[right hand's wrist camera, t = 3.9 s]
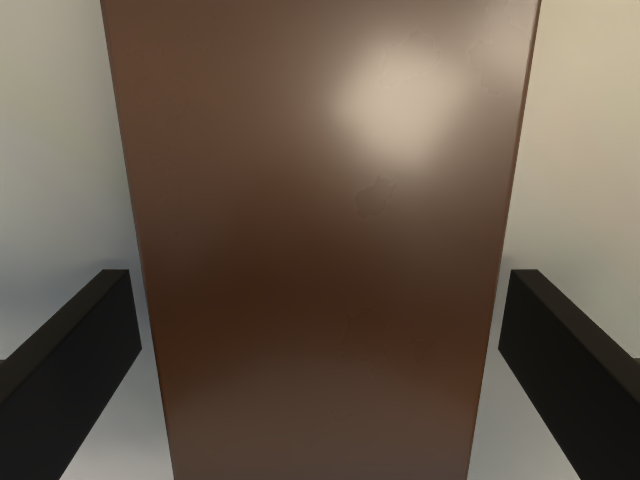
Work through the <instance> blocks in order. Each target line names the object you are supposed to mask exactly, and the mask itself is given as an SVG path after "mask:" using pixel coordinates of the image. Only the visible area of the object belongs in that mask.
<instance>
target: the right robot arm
mask: <svg viewBox="0 0 640 480" xmlns="http://www.w3.org/2000/svg"><path fill="white" fill-rule="evenodd" d="M141 350H142V346H141V340H140V334H139V328H138V322H137V316H136V310H135V304H134V298H133V292H132V286H131V280H130V274H129V270H102V271H101V272H100V273H98V274H97V275H96V276H95V277H94V278H93V279H92V280H91V281H90V282H89V283H88V284H87V285H86V286H84V287H83V288H82V289H81V290H80V291H79V292H78V293H77V294H76V295H75V296H74V297H73V298H72V299H70V300H69V301H68V302H67V303H66V304H65V305H64V306H63V307H62V308H61V309H60V310H59V311H58V312H56V313H55V314H54V315H53V316H52V317H51V318H50V319H49V320H48V321H47V322H46V323H45V324H44V325H42V326H41V327H40V328H39V329H38V330H37V331H36V332H35V333H34V334H33V335H32V336H31V337H30V338H28V339H27V340H26V341H25V342H24V343H23V344H22V345H21V346H20V347H19V348H18V349H17V350H16V351H14V352H13V353H12V354H11V355H10V356H9V357H8V358H7V359H6V360H0V480H59V479H60V478H61V476H62V474H63V473H64V471H65V470H66V468H67V466H68V465H69V463H70V462H71V460H72V459H73V457H74V455H75V454H76V452H77V451H78V449H79V448H80V446H81V444H82V443H83V441H84V440H85V438H86V436H87V435H88V433H89V432H90V430H91V429H92V427H93V425H94V424H95V422H96V421H97V419H98V418H99V416H100V414H101V413H102V411H103V410H104V408H105V407H106V405H107V403H108V402H109V400H110V399H111V397H112V395H113V394H114V392H115V391H116V389H117V388H118V386H119V384H120V383H121V381H122V380H123V378H124V377H125V375H126V373H127V372H128V370H129V369H130V367H131V365H132V364H133V362H134V361H135V359H136V358H137V356H138V354H139V353H140V351H141ZM498 350H499V351H500V353H501V354H502V356H503V358H504V359H505V361H506V362H507V364H508V365H509V367H510V369H511V370H512V372H513V373H514V375H515V377H516V378H517V380H518V381H519V383H520V384H521V386H522V388H523V389H524V391H525V392H526V394H527V395H528V397H529V399H530V400H531V402H532V403H533V405H534V407H535V408H536V410H537V411H538V413H539V414H540V416H541V418H542V419H543V421H544V422H545V424H546V425H547V427H548V429H549V430H550V432H551V433H552V435H553V437H554V438H555V440H556V441H557V443H558V444H559V446H560V448H561V449H562V451H563V452H564V454H565V455H566V457H567V459H568V460H569V462H570V463H571V465H572V466H573V468H574V470H575V471H576V473H577V474H578V476H579V478H580V479H581V480H640V358H632V357H631V356H630V355H629V354H628V353H627V352H626V351H624V350H623V349H622V348H621V347H620V346H619V345H618V344H617V343H616V342H615V341H614V340H613V339H612V338H610V337H609V336H608V335H607V334H606V333H605V332H604V331H603V330H602V329H601V328H600V327H599V326H598V325H596V324H595V323H594V322H593V321H592V320H591V319H590V318H589V317H588V316H587V315H586V314H585V313H584V312H582V311H581V310H580V309H579V308H578V307H577V306H576V305H575V304H574V303H573V302H572V301H571V300H570V299H568V298H567V297H566V296H565V295H564V294H563V293H562V292H561V291H560V290H559V289H558V288H557V287H556V286H554V285H553V284H552V283H551V282H550V281H549V280H548V279H547V278H546V277H545V276H544V275H543V274H542V273H540V272H539V271H538V270H511V274H510V280H509V286H508V292H507V298H506V304H505V310H504V316H503V322H502V328H501V334H500V340H499V346H498Z"/></svg>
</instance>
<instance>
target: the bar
mask: <svg viewBox="0 0 640 480" xmlns="http://www.w3.org/2000/svg"><path fill="white" fill-rule="evenodd" d="M100 4H101V10H102V16H103V23H104V29H105V36H106V42H107V49H108V55H109V62H110V68H111V75H112V81H113V87H114V94H115V100H116V107H117V113H118V120H119V126H120V133H121V139H122V146H123V152H124V159H125V165H126V171H127V178H128V184H129V191H130V197H131V204H132V210H133V217H134V223H135V230H136V236H137V242H138V249H139V255H140V262H141V268H142V275H143V281H144V288H145V294H146V301H147V307H148V314H149V320H150V326H151V333H152V339H153V346H154V352H155V359H156V365H157V372H158V378H159V385H160V391H161V398H162V404H163V410H164V417H165V423H166V430H167V436H168V443H169V449H170V456H171V462H172V469H173V475H174V480H467V475H468V469H469V462H470V456H471V449H472V443H473V436H474V430H475V424H476V417H477V411H478V404H479V398H480V392H481V385H482V379H483V372H484V366H485V359H486V353H487V347H488V340H489V334H490V327H491V321H492V315H493V308H494V302H495V295H496V289H497V282H498V276H499V270H500V263H501V257H502V250H503V244H504V237H505V231H506V225H507V218H508V212H509V205H510V199H511V193H512V186H513V180H514V173H515V167H516V160H517V154H518V148H519V141H520V135H521V128H522V122H523V116H524V109H525V103H526V96H527V90H528V83H529V77H530V71H531V64H532V58H533V51H534V45H535V39H536V32H537V26H538V19H539V13H540V6H541V0H100Z"/></svg>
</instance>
